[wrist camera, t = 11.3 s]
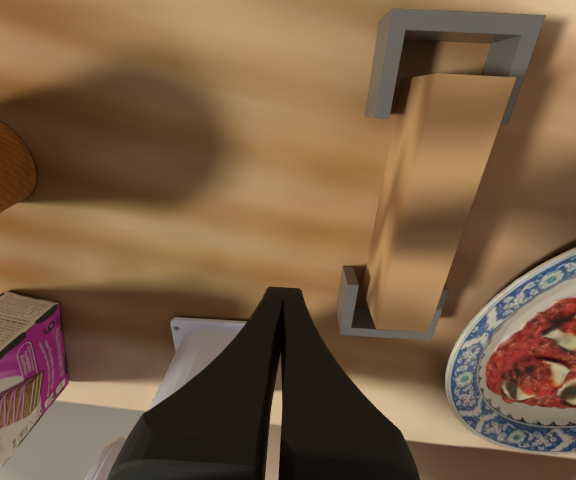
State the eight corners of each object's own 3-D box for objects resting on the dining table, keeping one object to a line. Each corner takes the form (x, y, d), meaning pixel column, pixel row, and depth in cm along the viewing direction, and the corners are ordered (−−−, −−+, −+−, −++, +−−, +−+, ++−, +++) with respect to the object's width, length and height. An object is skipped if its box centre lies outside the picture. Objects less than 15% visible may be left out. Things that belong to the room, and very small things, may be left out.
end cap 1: (419, 318, 25) (431, 340, 23) (335, 313, 25) (339, 334, 23) (434, 271, 23) (449, 290, 21) (342, 266, 23) (347, 284, 21)
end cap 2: (481, 120, 18) (507, 124, 16) (365, 115, 18) (374, 117, 16) (511, 26, 16) (545, 15, 14) (379, 20, 16) (392, 8, 14)
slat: (404, 288, 24) (427, 332, 20) (361, 285, 24) (375, 328, 20) (460, 82, 17) (516, 77, 13) (401, 78, 18) (437, 73, 13)
